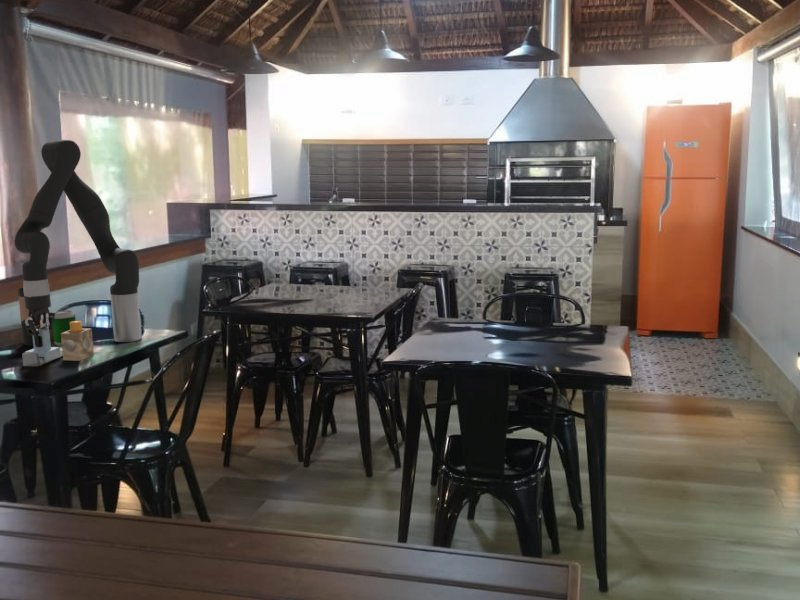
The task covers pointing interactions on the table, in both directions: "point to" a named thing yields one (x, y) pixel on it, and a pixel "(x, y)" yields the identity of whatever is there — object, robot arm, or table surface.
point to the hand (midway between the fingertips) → (42, 345)
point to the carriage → (45, 347)
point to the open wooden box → (77, 344)
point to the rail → (36, 358)
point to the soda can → (62, 324)
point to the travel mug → (24, 318)
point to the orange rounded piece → (76, 326)
